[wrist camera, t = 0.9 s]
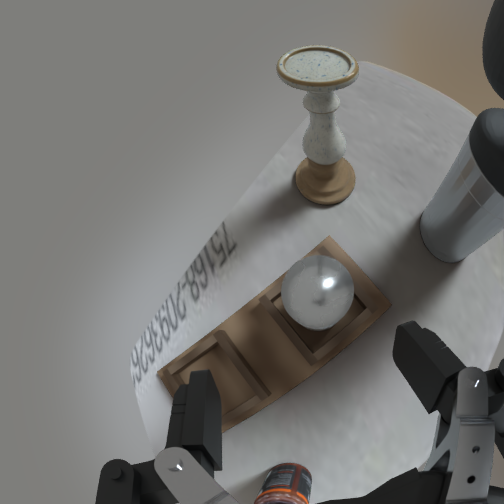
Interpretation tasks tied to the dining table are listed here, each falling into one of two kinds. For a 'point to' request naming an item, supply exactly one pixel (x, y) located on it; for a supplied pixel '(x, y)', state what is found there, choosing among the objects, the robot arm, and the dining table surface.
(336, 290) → the can
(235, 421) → the wooden divided tray
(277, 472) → the supplement bottle
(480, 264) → the dining table surface
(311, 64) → the candle holder
